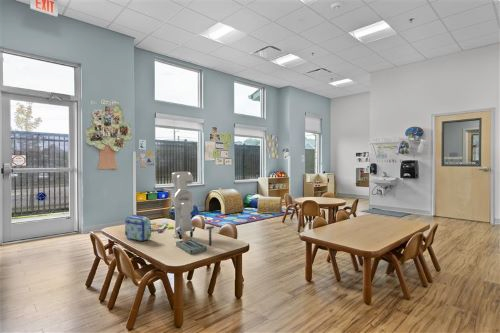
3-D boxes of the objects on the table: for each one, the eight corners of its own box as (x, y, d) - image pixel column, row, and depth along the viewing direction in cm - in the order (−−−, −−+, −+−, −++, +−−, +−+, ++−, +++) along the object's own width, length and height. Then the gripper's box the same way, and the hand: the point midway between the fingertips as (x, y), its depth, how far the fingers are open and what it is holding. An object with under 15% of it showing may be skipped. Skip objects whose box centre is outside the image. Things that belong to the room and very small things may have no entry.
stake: (206, 245, 225) (206, 227, 225) (212, 244, 229) (212, 225, 228) (207, 246, 223) (207, 227, 223) (214, 245, 227) (214, 226, 227)
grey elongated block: (201, 249, 213) (201, 240, 213) (191, 251, 208) (191, 242, 208) (189, 242, 230) (189, 234, 229) (180, 244, 225) (180, 236, 225)
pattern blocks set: (138, 226, 293) (138, 223, 293) (171, 223, 305) (171, 221, 305) (138, 235, 258) (138, 232, 257) (174, 232, 270) (174, 229, 270)
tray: (176, 245, 225) (176, 241, 225) (191, 242, 233) (191, 238, 233) (190, 254, 204) (190, 249, 204) (206, 250, 212) (206, 246, 212)
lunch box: (123, 238, 246) (123, 215, 246) (133, 235, 256) (133, 213, 255) (141, 243, 233) (141, 218, 232) (152, 239, 242) (152, 216, 241)
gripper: (193, 215, 234) (193, 235, 234) (174, 218, 223) (174, 238, 223) (197, 216, 228) (197, 237, 228) (177, 219, 217) (177, 240, 217)
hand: (185, 238), depth 226 cm, fingers open, 9 cm apart
